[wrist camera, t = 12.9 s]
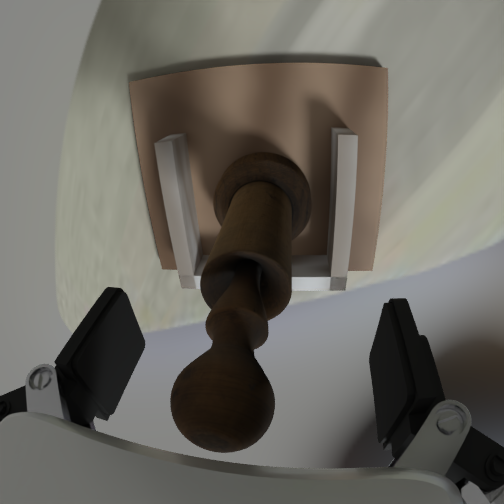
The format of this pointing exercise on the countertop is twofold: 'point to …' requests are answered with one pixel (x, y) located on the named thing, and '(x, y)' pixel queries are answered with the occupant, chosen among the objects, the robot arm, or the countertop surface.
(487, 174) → the countertop surface
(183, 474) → the robot arm
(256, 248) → the wooden chess pawn
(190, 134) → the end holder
